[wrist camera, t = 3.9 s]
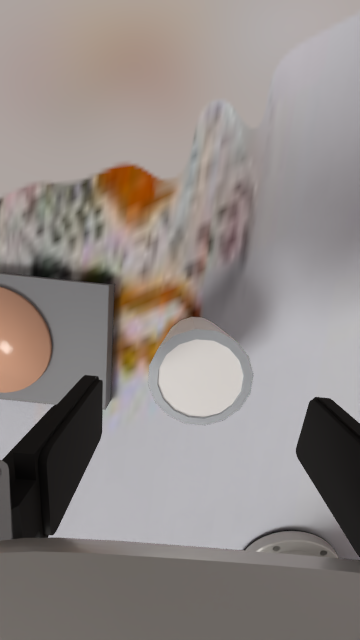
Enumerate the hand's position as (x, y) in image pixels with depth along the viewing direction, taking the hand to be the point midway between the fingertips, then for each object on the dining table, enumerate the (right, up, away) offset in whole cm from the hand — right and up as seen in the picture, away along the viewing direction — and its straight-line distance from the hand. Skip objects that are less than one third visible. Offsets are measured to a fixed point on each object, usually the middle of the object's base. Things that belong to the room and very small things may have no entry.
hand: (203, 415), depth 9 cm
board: (-17, +3, +11) cm, 20 cm away
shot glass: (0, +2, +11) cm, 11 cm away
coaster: (-18, +2, +10) cm, 20 cm away
